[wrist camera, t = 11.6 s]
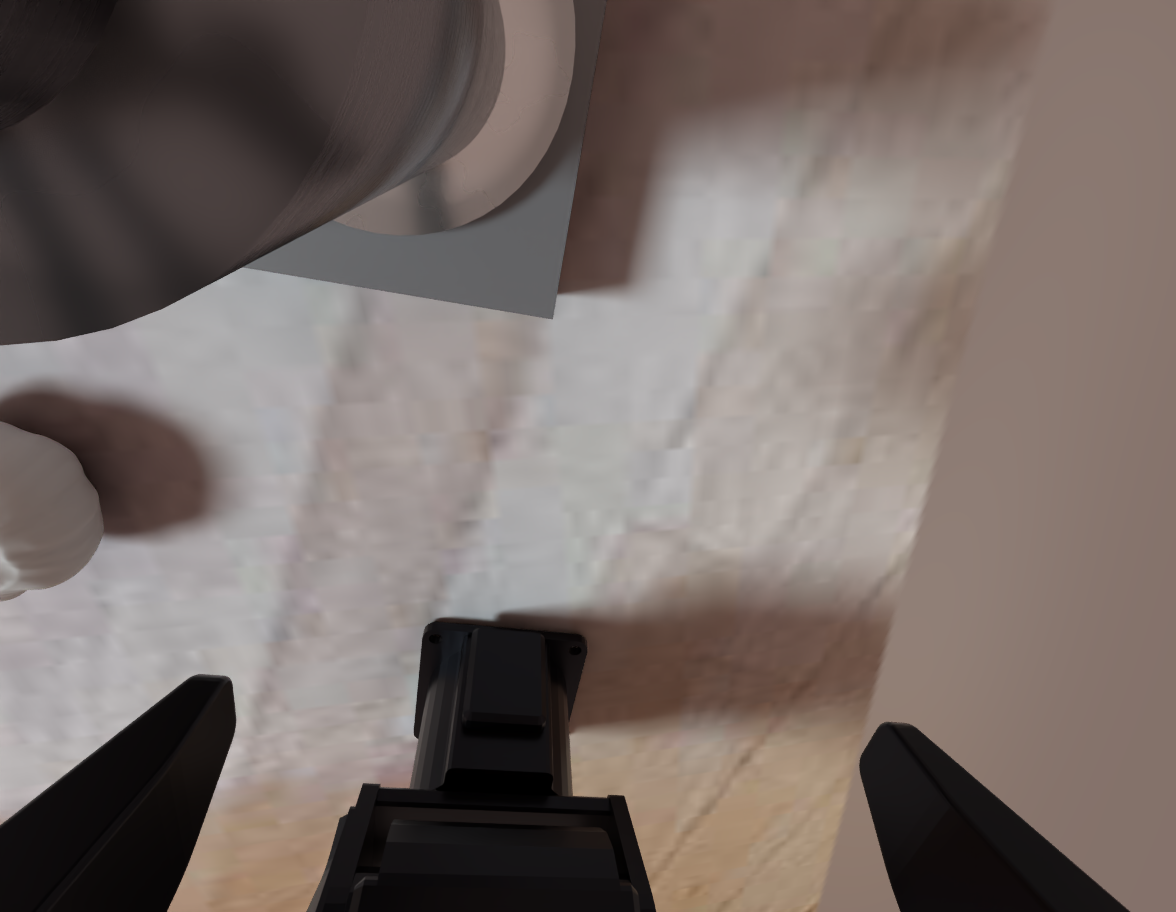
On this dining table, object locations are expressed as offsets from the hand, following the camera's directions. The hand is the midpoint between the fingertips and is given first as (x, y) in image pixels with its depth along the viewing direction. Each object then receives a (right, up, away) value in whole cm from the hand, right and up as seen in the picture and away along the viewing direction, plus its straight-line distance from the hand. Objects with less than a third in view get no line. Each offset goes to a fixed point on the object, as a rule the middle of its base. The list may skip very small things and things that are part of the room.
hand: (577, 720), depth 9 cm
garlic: (-18, +3, +12) cm, 22 cm away
